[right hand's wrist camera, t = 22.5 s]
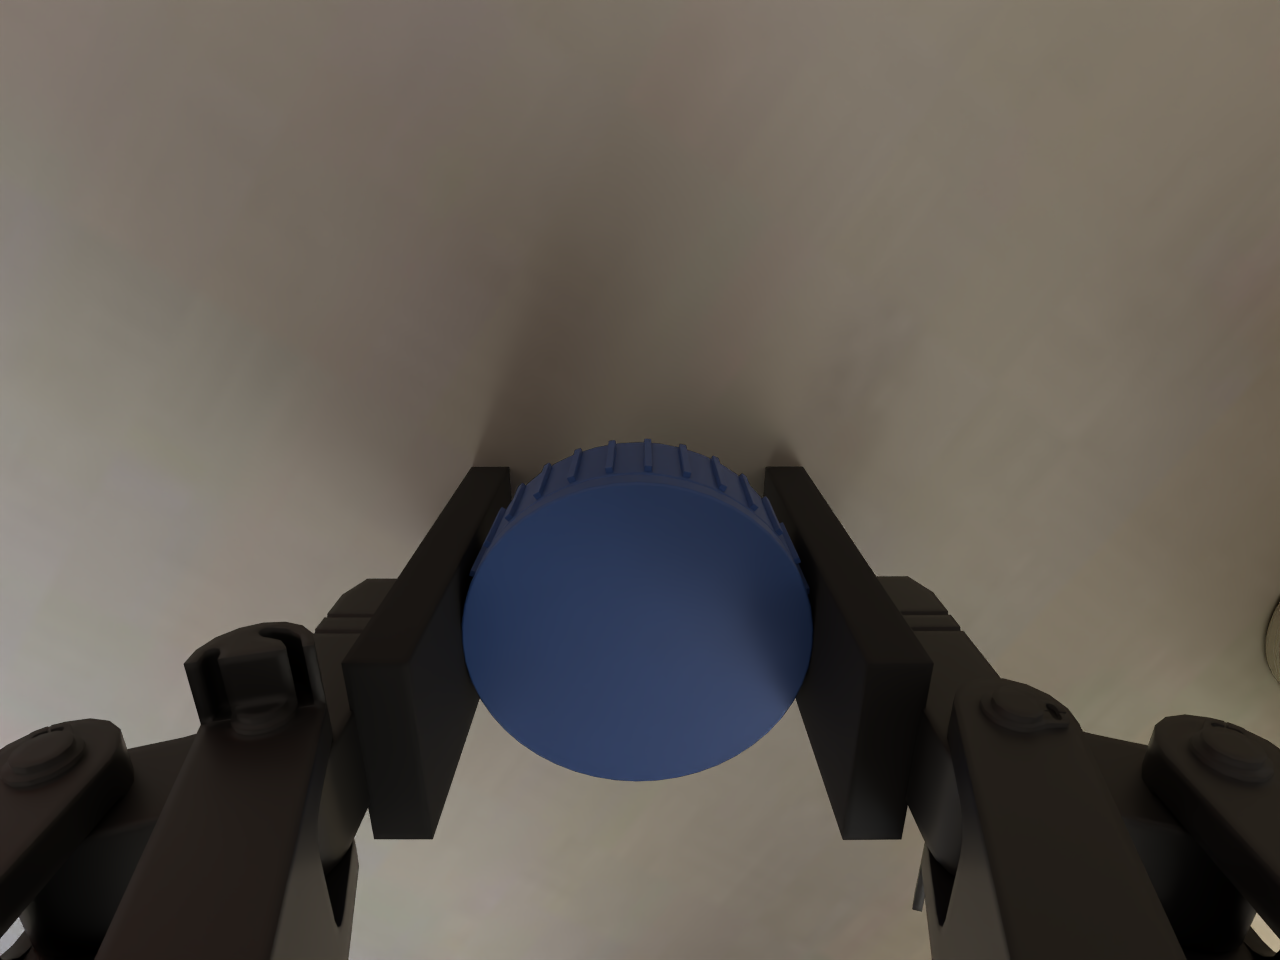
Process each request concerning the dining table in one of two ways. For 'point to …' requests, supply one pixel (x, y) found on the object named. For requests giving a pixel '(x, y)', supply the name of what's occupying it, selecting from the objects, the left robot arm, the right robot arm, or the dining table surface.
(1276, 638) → the beige bottle
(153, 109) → the dining table surface
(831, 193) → the dining table surface
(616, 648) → the lid
